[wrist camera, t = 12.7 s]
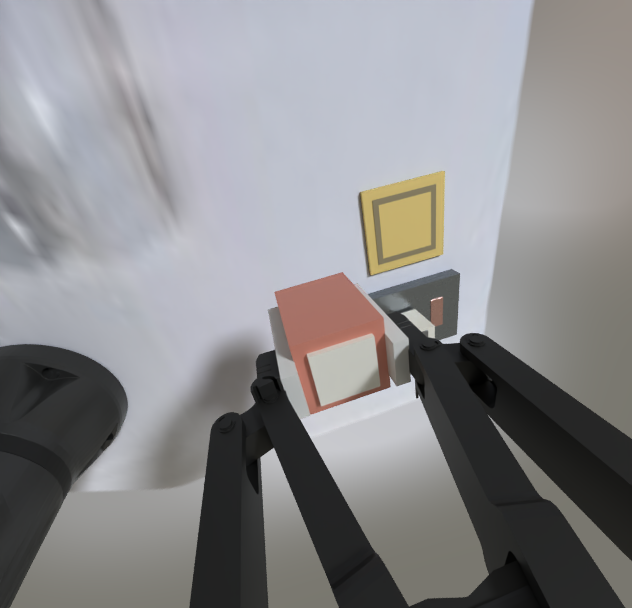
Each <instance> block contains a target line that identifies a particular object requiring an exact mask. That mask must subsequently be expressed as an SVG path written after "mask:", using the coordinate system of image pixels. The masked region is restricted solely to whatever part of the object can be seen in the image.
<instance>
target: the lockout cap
mask: <svg viewBox="0 0 632 608" xmlns="http://www.w3.org/2000/svg"><path fill="white" fill-rule="evenodd" d="M275 296H276V300H277V304H278V307H279V311H280V315H281V319H282V322H283V326H284V330H285V334H286V337H287V341H288V345H289V348H290V351H291V355H292V358H293V361H294V363H295V366H296V369H297V372H298V376H299V379H300V382H301V385H302V388H303V392H304V395H305V398H306V401H307V405H308V408H309V412H310V415H311V414H314V413H317V412H320V411H323V410H325V409H328V408H331V407H334V406H337V405H340V404H343V403H346V402H349V401H352V400H355V399H357V398H360V397H363V396H366V395H369V394H372V393H375V392H378V391H381V390H384V389H386V388H389V387H390V377H389V373H388V363H387V353H386V343H385V327H384V317H383V316H382V315H381V314H380V313H379V312H378V311H377V310H376V309H375V308H374V306H373V305H372V304H371V303H370V302H369V301H368V300H367V299H366V298H365V297H364V295H363V294H362V293H361V292H360V291H359V290H358V289H357V288H356V287H355V286H354V284H353V283H352V282H351V281H350V280H349V279H348V278H347V277H346V276H345V275H344V273H343V272H342V273H338V274H335V275H332V276H328V277H325V278H321V279H318V280H314V281H311V282H307V283H304V284H300V285H297V286H294V287H290V288H287V289H283V290H280V291H276V292H275Z"/></svg>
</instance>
